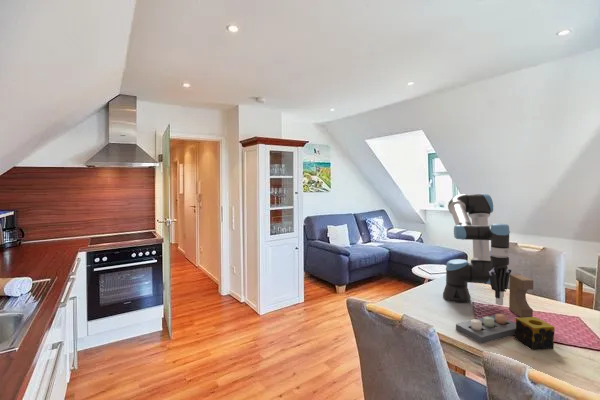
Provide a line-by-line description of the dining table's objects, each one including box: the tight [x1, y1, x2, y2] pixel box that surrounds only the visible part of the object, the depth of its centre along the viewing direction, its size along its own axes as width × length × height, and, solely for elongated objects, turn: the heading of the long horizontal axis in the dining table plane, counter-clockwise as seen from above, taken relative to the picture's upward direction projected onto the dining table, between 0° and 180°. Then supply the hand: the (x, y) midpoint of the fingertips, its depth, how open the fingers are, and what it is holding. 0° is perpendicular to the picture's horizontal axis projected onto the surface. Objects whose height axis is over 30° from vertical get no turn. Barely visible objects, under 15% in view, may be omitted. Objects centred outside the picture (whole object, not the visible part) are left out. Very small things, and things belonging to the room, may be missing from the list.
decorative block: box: [508, 273, 534, 318], centre depth 167 cm, size 11×6×20 cm, turn 177°
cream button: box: [471, 318, 482, 332], centre depth 146 cm, size 4×4×4 cm
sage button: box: [483, 315, 494, 329], centre depth 149 cm, size 4×4×4 cm
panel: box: [455, 314, 516, 345], centre depth 149 cm, size 14×26×3 cm, turn 110°
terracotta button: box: [495, 313, 507, 326], centre depth 152 cm, size 4×4×4 cm
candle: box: [513, 316, 555, 351], centre depth 137 cm, size 10×10×10 cm
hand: (499, 304), depth 152 cm, fingers closed
